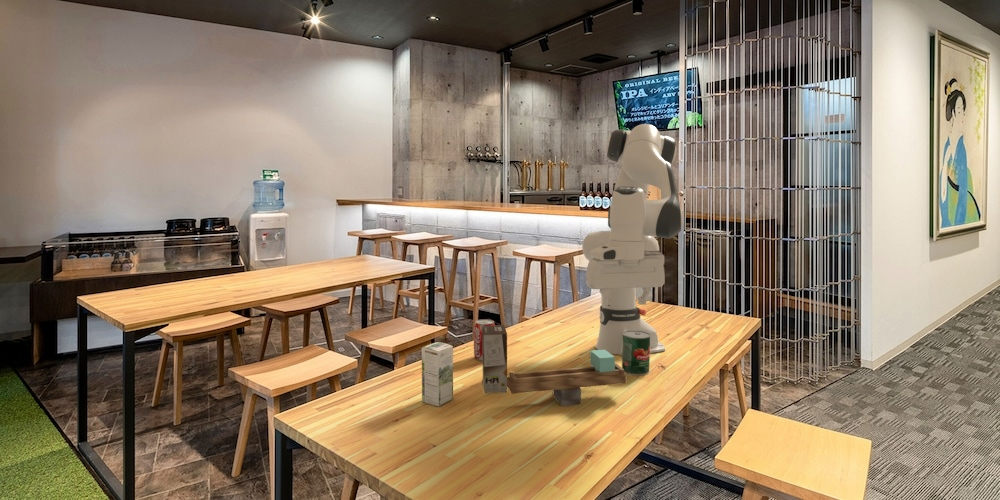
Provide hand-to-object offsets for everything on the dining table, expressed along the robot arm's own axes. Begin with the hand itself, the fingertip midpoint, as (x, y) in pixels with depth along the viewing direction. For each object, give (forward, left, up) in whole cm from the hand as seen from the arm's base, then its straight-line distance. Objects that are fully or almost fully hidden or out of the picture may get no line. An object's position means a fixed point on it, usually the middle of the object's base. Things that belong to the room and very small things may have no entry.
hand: (624, 304), depth 137 cm
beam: (+16, 0, -24) cm, 28 cm away
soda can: (+30, -37, -24) cm, 53 cm away
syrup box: (+48, -7, -24) cm, 54 cm away
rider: (+6, 0, -17) cm, 18 cm away
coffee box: (+32, -13, -24) cm, 42 cm away
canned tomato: (-11, -16, -24) cm, 31 cm away
